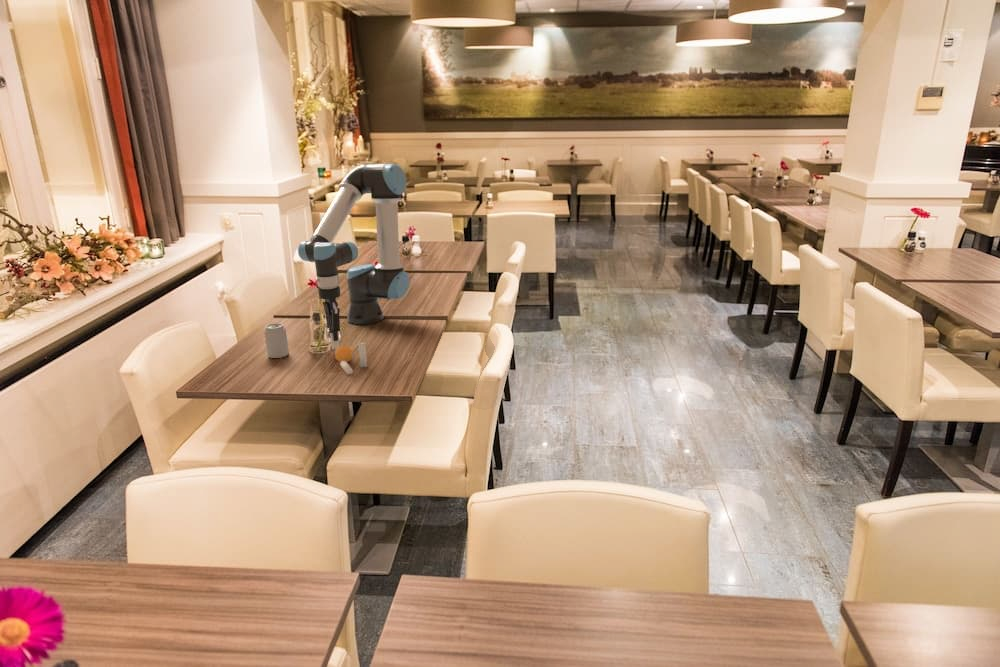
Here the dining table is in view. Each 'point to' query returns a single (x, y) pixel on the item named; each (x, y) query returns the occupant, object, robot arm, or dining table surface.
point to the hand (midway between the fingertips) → (335, 347)
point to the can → (276, 340)
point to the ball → (343, 353)
